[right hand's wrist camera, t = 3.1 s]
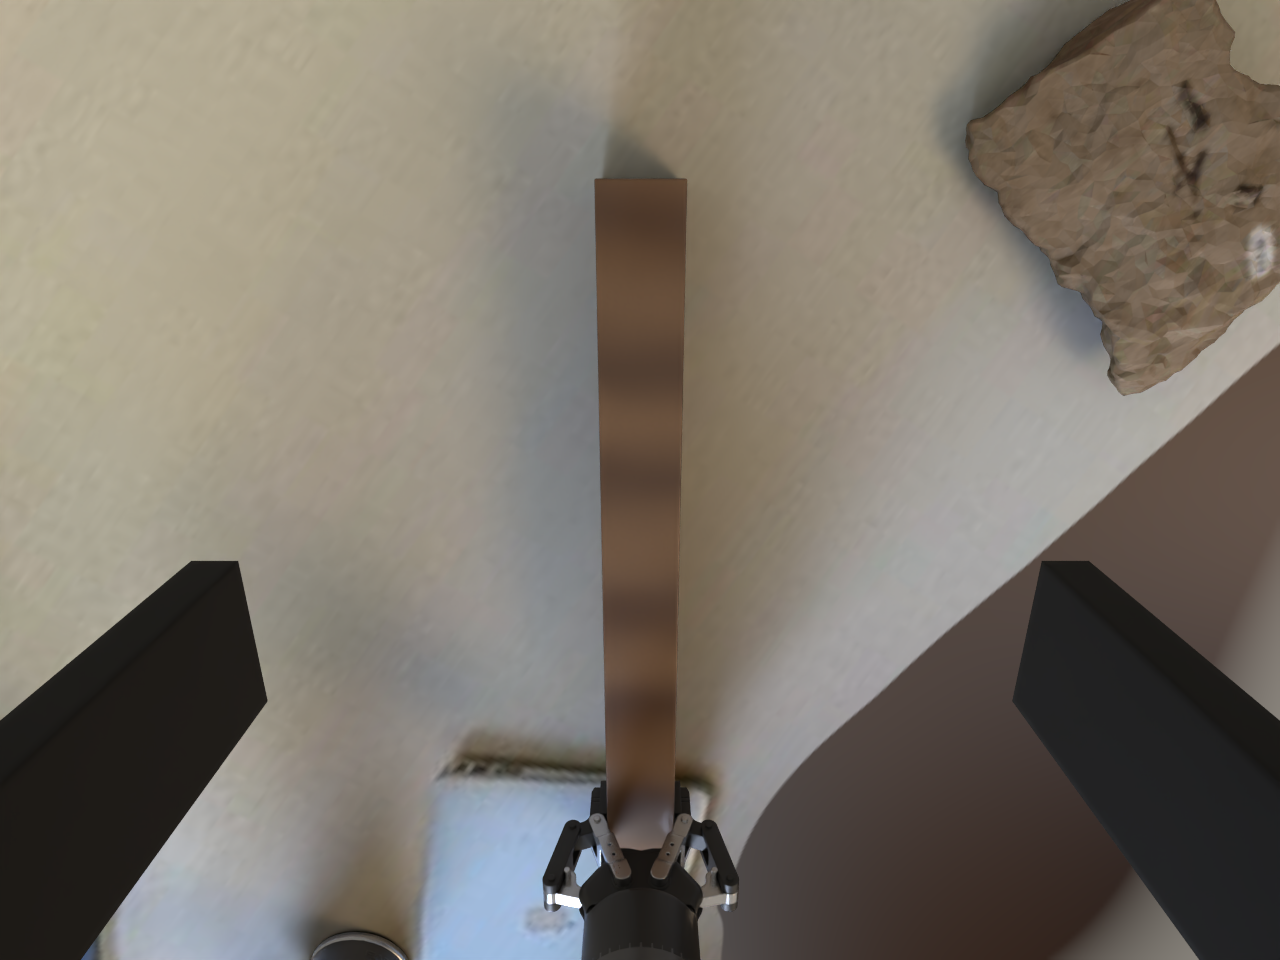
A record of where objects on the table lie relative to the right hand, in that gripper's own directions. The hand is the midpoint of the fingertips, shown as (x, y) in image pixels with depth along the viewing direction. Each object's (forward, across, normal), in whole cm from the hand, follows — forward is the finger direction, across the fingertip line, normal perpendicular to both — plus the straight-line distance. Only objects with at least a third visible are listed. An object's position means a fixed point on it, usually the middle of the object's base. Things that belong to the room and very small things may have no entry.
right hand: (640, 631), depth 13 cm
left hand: (+38, 0, -39) cm, 54 cm away
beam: (+41, 0, -19) cm, 45 cm away
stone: (+41, +30, +6) cm, 51 cm away
